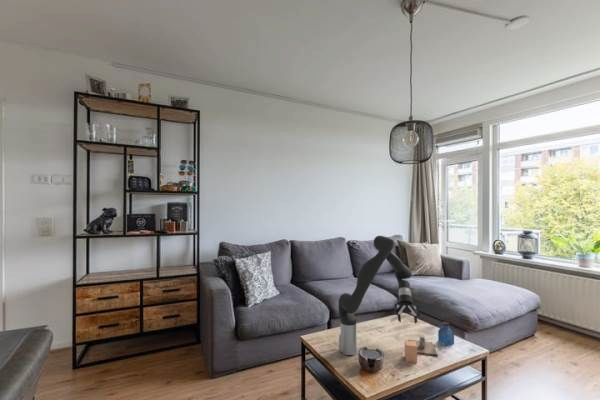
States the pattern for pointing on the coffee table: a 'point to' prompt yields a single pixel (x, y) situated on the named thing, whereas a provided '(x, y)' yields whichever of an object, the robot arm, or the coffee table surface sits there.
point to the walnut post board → (425, 347)
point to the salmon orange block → (410, 351)
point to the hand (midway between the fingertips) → (407, 322)
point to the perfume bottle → (446, 334)
